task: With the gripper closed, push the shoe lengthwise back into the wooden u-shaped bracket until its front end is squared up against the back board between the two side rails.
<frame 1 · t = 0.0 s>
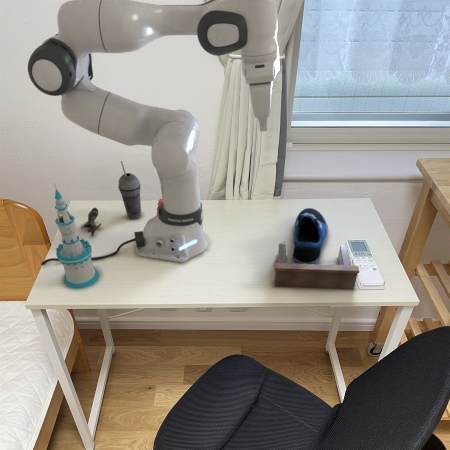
hand: (263, 122, 117), 39 cm above the table, tool pointing down, fingers open, 8 cm apart
shoe: (309, 243, 145), on the table
model tower: (81, 278, 134), on the table
beverage cup: (134, 216, 158), on the table
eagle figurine: (93, 230, 152), on the table
wooden u-shaped bracket: (313, 286, 129), on the table
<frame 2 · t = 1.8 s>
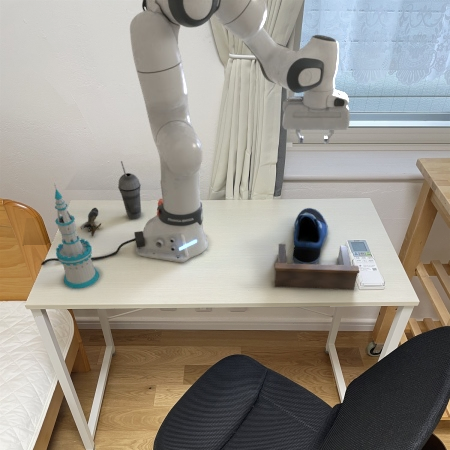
hand: (313, 142, 145), 23 cm above the table, tool pointing down, fingers open, 7 cm apart
nothing on the table moved.
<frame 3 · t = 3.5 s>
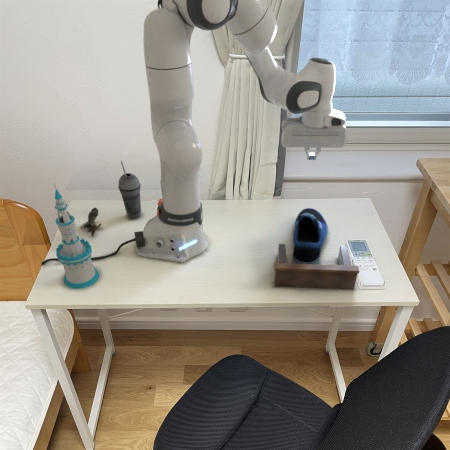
hand: (311, 159, 149), 18 cm above the table, tool pointing down, fingers closed
nothing on the table moved.
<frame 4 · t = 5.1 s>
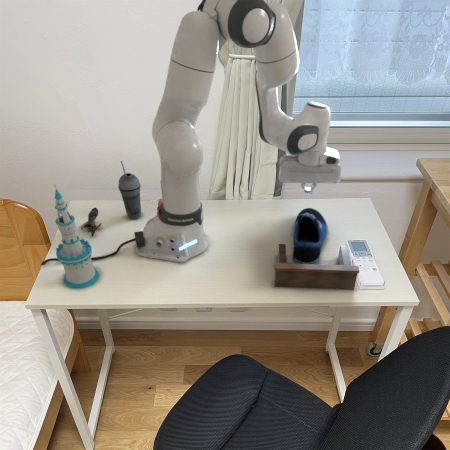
hand: (307, 193, 157), 6 cm above the table, tool pointing down, fingers closed
nothing on the table moved.
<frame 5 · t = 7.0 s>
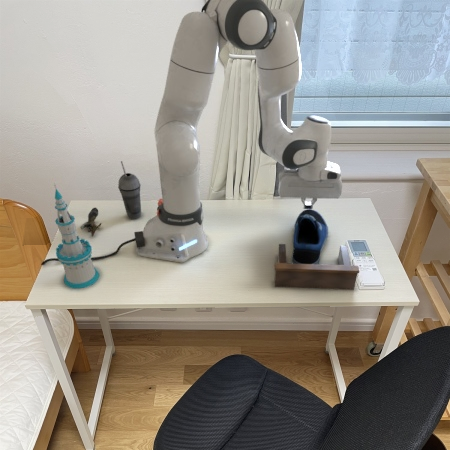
hand: (307, 208, 152), 4 cm above the table, tool pointing down, fingers closed
shoe: (309, 245, 144), on the table, touching gripper
everything else where it was.
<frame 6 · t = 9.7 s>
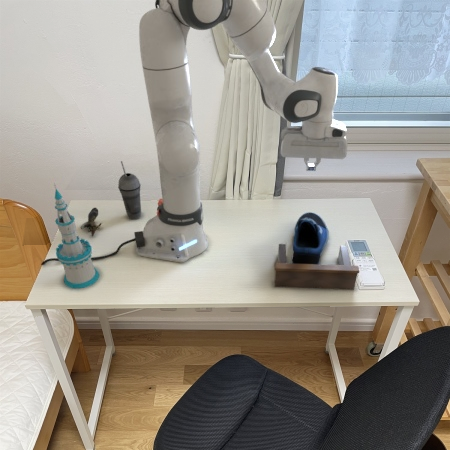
hand: (310, 170, 146), 16 cm above the table, tool pointing down, fingers closed
shoe: (309, 248, 143), on the table
everything else where it was.
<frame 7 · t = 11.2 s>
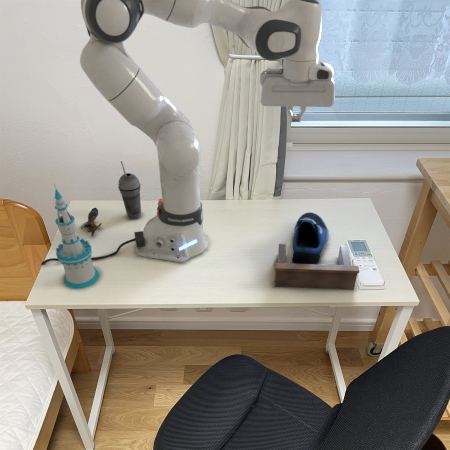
hand: (295, 121, 131), 34 cm above the table, tool pointing down, fingers closed
nothing on the table moved.
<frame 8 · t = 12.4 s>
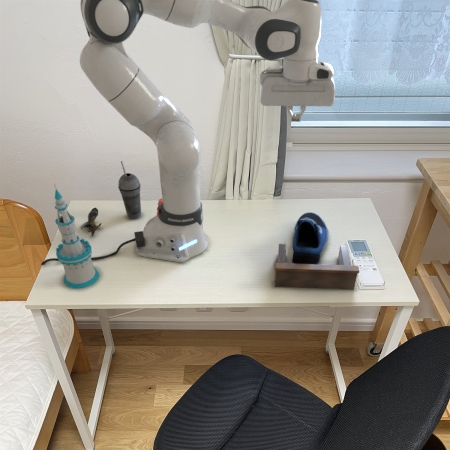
hand: (295, 121, 130), 34 cm above the table, tool pointing down, fingers closed
nothing on the table moved.
at the end: shoe inside the target area (2.2 cm from its centre), on the table; shoe tilted 0° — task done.
